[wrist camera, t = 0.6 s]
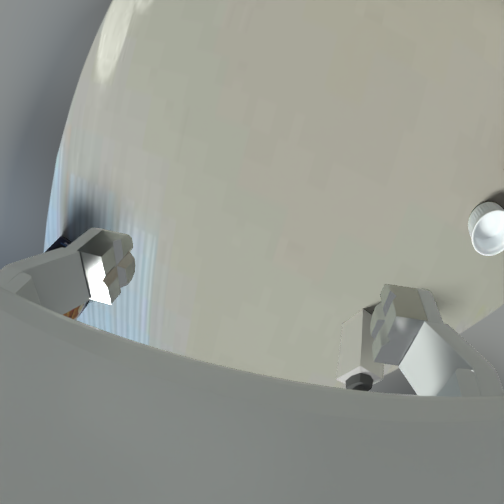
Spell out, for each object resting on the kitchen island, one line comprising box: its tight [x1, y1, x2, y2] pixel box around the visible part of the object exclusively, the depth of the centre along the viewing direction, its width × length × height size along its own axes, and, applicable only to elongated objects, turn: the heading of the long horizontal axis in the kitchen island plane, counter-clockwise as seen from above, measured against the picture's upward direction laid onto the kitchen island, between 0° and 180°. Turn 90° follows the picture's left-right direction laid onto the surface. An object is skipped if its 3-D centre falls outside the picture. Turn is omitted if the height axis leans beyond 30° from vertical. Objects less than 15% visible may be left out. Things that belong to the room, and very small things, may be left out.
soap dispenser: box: [336, 309, 384, 391], centre depth 56 cm, size 6×9×22 cm
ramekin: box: [468, 202, 504, 256], centre depth 41 cm, size 9×9×4 cm
